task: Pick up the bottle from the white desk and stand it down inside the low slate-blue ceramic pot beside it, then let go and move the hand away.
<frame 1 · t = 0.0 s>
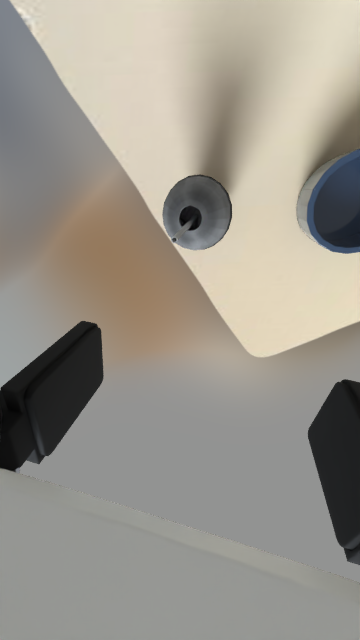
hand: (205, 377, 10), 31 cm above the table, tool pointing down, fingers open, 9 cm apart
beverage cup: (208, 208, 35), on the table
desk pot: (340, 202, 32), on the table
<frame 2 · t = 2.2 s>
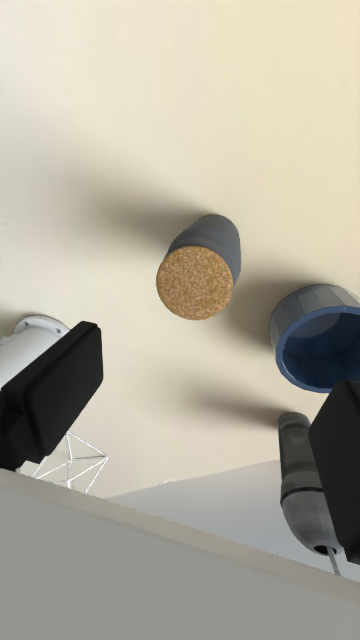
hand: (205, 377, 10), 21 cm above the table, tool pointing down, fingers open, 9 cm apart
bottle: (213, 241, 28), on the table
beverage cup: (293, 421, 38), on the table
geometric polyhedron: (82, 448, 54), on the table
desk pot: (314, 325, 30), on the table
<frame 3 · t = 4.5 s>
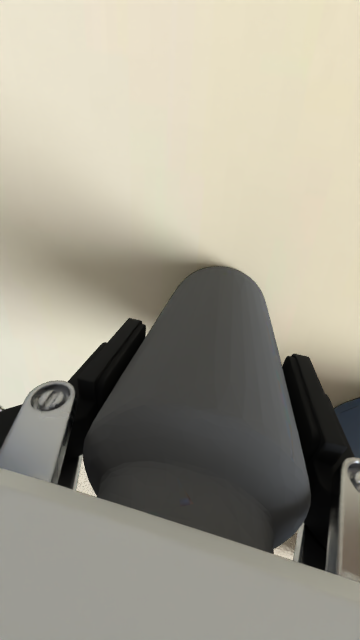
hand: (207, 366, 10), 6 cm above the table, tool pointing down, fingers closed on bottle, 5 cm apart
bottle: (217, 309, 15), on the table, touching gripper
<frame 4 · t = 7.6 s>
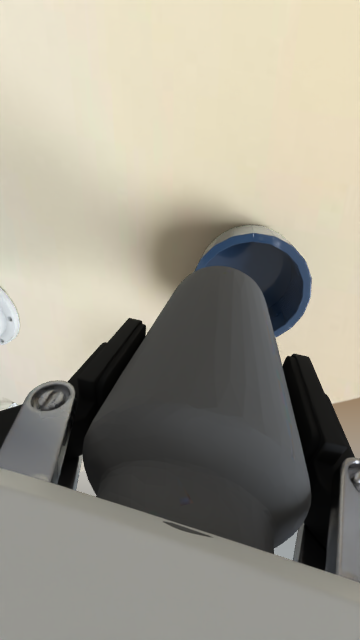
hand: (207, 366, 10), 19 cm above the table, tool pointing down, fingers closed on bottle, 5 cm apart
bottle: (217, 309, 15), point 13 cm above the table, touching gripper
desk pot: (245, 274, 27), on the table
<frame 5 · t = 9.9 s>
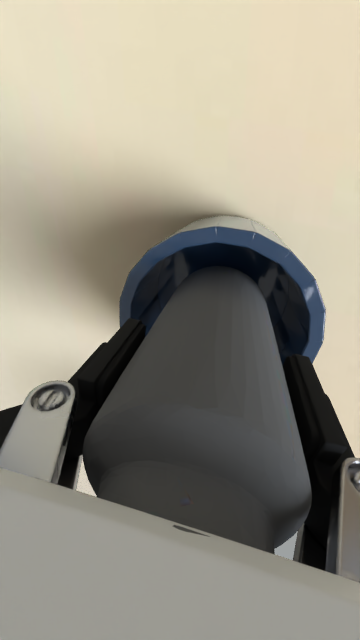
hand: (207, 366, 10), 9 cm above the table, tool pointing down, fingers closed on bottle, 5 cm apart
bottle: (217, 309, 15), point 3 cm above the table, touching gripper
desk pot: (220, 292, 18), on the table
when the fingers open (6 cm above the table, at t = 11.1 s): bottle stays where it is, resting on desk pot.
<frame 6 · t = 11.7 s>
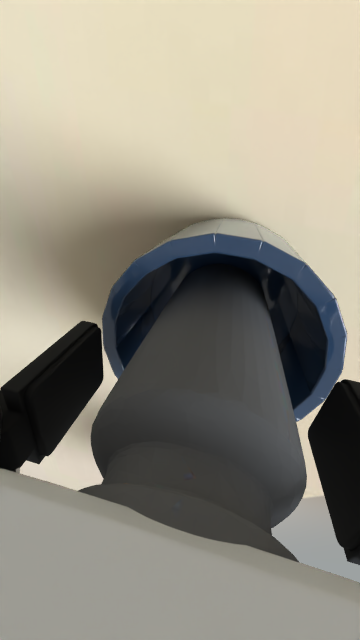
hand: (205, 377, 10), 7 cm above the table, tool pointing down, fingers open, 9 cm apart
bottle: (218, 306, 16), resting on desk pot
desk pot: (220, 304, 16), on the table
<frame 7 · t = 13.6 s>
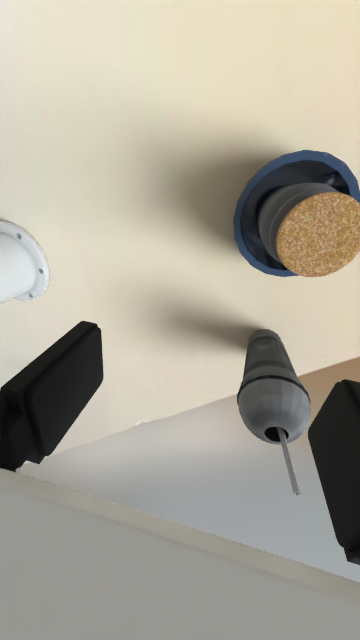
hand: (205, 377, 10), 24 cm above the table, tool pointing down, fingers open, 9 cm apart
bottle: (283, 215, 27), resting on desk pot
beverage cup: (264, 342, 35), on the table
desk pot: (283, 214, 27), on the table
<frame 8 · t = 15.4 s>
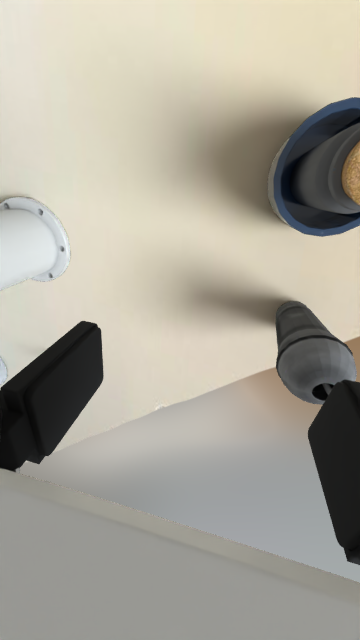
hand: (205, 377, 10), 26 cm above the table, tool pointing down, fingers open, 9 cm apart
bottle: (317, 177, 27), resting on desk pot
beverage cup: (291, 314, 35), on the table
desk pot: (317, 177, 27), on the table
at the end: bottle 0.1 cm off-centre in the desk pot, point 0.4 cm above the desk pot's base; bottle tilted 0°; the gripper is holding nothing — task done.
